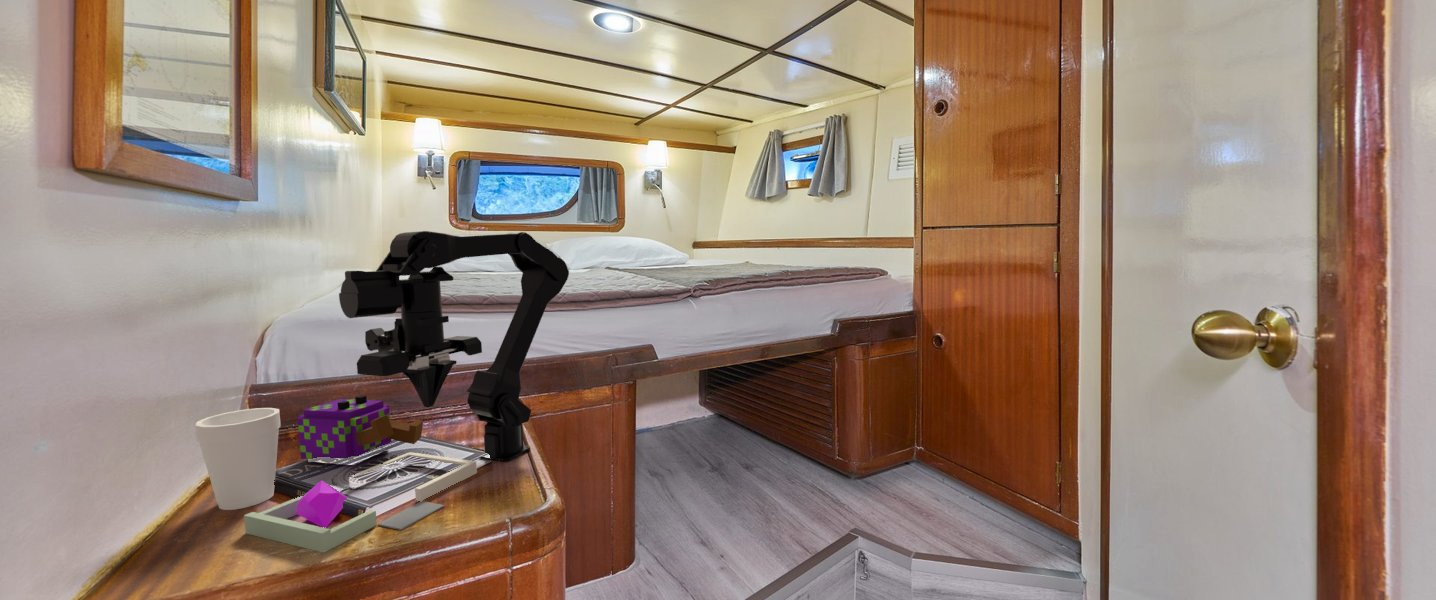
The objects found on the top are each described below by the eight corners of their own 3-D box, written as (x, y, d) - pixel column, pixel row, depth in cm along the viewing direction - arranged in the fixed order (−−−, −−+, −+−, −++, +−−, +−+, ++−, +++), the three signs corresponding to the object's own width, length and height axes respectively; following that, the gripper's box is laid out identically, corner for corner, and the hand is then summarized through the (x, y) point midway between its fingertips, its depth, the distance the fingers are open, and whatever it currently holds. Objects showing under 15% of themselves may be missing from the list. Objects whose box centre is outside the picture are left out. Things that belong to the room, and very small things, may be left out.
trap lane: (410, 462, 93) (409, 449, 93) (476, 472, 89) (476, 458, 88) (245, 533, 70) (243, 515, 70) (323, 552, 65) (322, 533, 65)
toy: (381, 409, 89) (284, 404, 93) (385, 471, 90) (290, 464, 94) (424, 393, 99) (336, 390, 103) (428, 450, 100) (340, 444, 104)
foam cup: (237, 517, 74) (228, 428, 73) (186, 512, 76) (177, 425, 75) (302, 488, 84) (295, 409, 82) (255, 484, 85) (248, 406, 84)
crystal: (291, 526, 72) (288, 494, 71) (328, 508, 77) (325, 478, 77) (321, 530, 71) (319, 497, 70) (357, 511, 76) (354, 480, 75)
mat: (421, 502, 78) (421, 501, 78) (444, 506, 77) (443, 505, 77) (377, 525, 72) (377, 523, 72) (401, 530, 70) (401, 528, 70)
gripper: (432, 304, 95) (438, 388, 96) (326, 317, 77) (335, 420, 79) (481, 305, 91) (486, 392, 92) (381, 318, 73) (389, 426, 75)
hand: (428, 406), depth 85 cm, fingers closed
